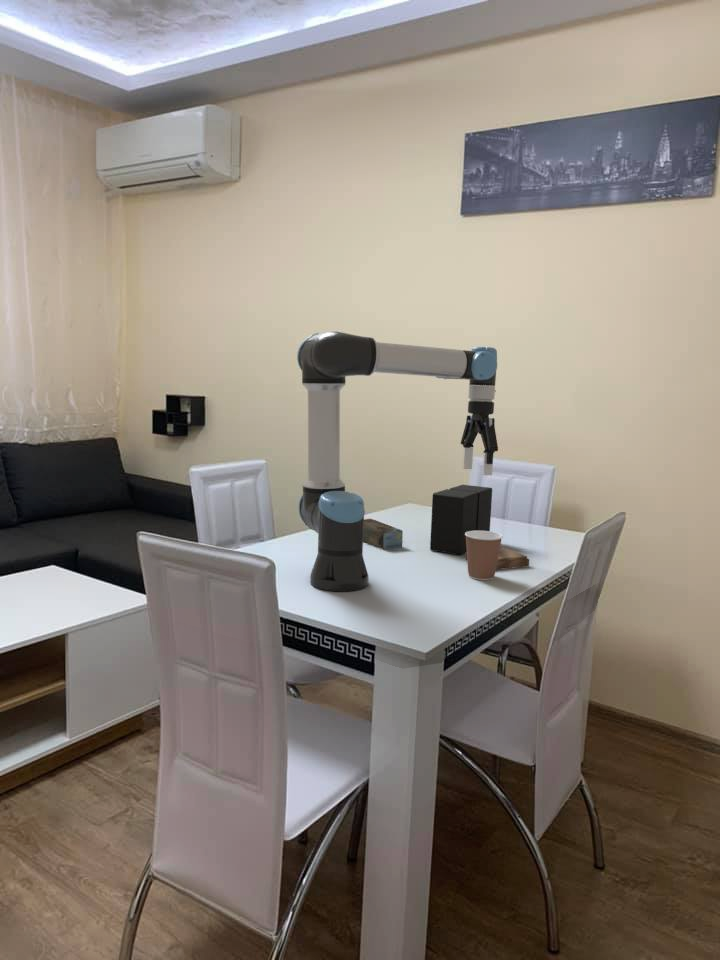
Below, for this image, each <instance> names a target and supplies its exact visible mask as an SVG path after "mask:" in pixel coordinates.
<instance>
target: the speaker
mask: <svg viewBox="0 0 720 960" xmlns="http://www.w3.org/2000/svg"><path fill="white" fill-rule="evenodd" d="M492 498H493V488H492V487H488V486H487V487H486V486H477V485H470V484H469V485H468V484H460V485H457V486H453V487H450V488H446V489H443V490H439V491H437V492H433V494H432V503H431V518H430V519H431V520H430V521H431V523H430V543H429V545H430V546H429V550H431V551H434V552H442V553H446V554H447V553H448V554H453V555H456V556H462V555H464V554H467V547H466V535H465V533H466V532H468V531H491V517H492V502H493V501H492V500H493V499H492Z"/></svg>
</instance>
